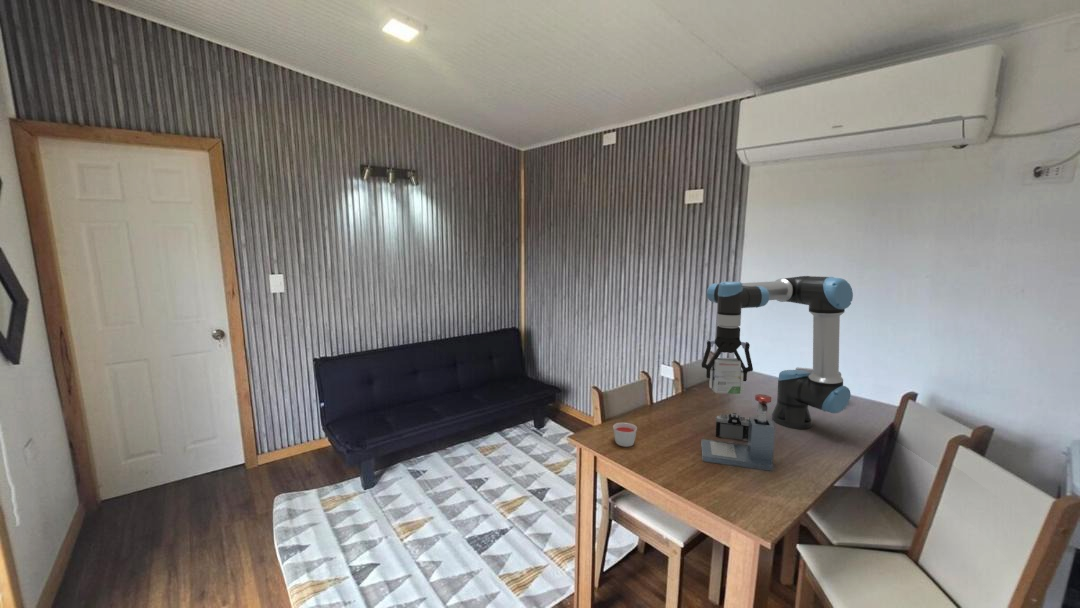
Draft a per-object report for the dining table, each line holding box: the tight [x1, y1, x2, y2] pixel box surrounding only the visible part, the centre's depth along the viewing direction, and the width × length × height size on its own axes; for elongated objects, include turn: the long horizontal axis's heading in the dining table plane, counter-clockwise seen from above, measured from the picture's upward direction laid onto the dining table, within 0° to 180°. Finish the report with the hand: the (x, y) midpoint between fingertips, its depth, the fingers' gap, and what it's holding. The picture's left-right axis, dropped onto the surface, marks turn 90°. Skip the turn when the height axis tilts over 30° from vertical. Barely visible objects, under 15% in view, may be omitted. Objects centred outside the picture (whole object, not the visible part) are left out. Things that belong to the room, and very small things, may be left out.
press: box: [700, 417, 776, 472], centre depth 150 cm, size 22×14×14 cm, turn 71°
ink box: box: [710, 357, 742, 395], centre depth 149 cm, size 9×5×12 cm, turn 84°
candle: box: [612, 422, 638, 448], centre depth 163 cm, size 9×9×6 cm
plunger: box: [754, 393, 772, 425], centre depth 147 cm, size 5×9×15 cm, turn 161°
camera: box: [714, 412, 749, 442], centre depth 168 cm, size 16×9×10 cm, turn 68°
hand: (725, 388), depth 149 cm, fingers closed on ink box, 9 cm apart
